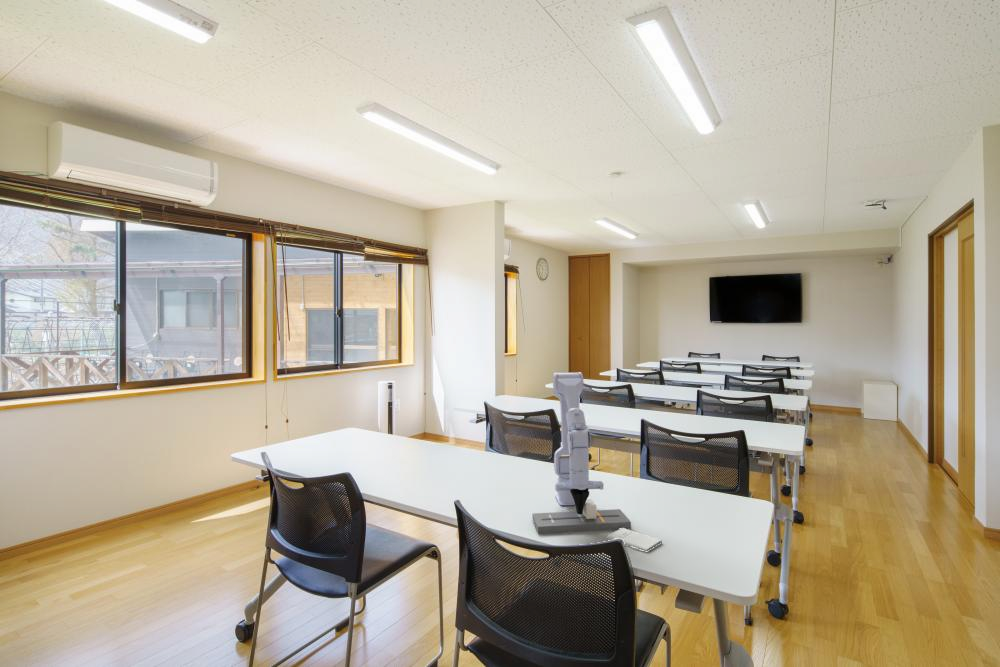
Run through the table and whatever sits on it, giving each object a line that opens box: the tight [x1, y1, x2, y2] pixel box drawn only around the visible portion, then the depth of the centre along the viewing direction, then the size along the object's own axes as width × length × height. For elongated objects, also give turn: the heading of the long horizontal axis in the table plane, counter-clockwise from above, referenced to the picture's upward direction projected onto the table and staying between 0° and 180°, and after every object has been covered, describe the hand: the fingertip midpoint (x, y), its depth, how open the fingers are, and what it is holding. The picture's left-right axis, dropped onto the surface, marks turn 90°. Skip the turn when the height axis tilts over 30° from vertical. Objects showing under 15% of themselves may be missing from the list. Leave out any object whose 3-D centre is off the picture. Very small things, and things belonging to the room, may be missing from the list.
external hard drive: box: [607, 528, 663, 551], centre depth 144 cm, size 2×8×12 cm
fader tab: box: [583, 499, 597, 519], centre depth 156 cm, size 5×3×4 cm, turn 5°
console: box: [531, 508, 632, 534], centre depth 156 cm, size 10×28×2 cm, turn 95°
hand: (579, 513), depth 156 cm, fingers closed
